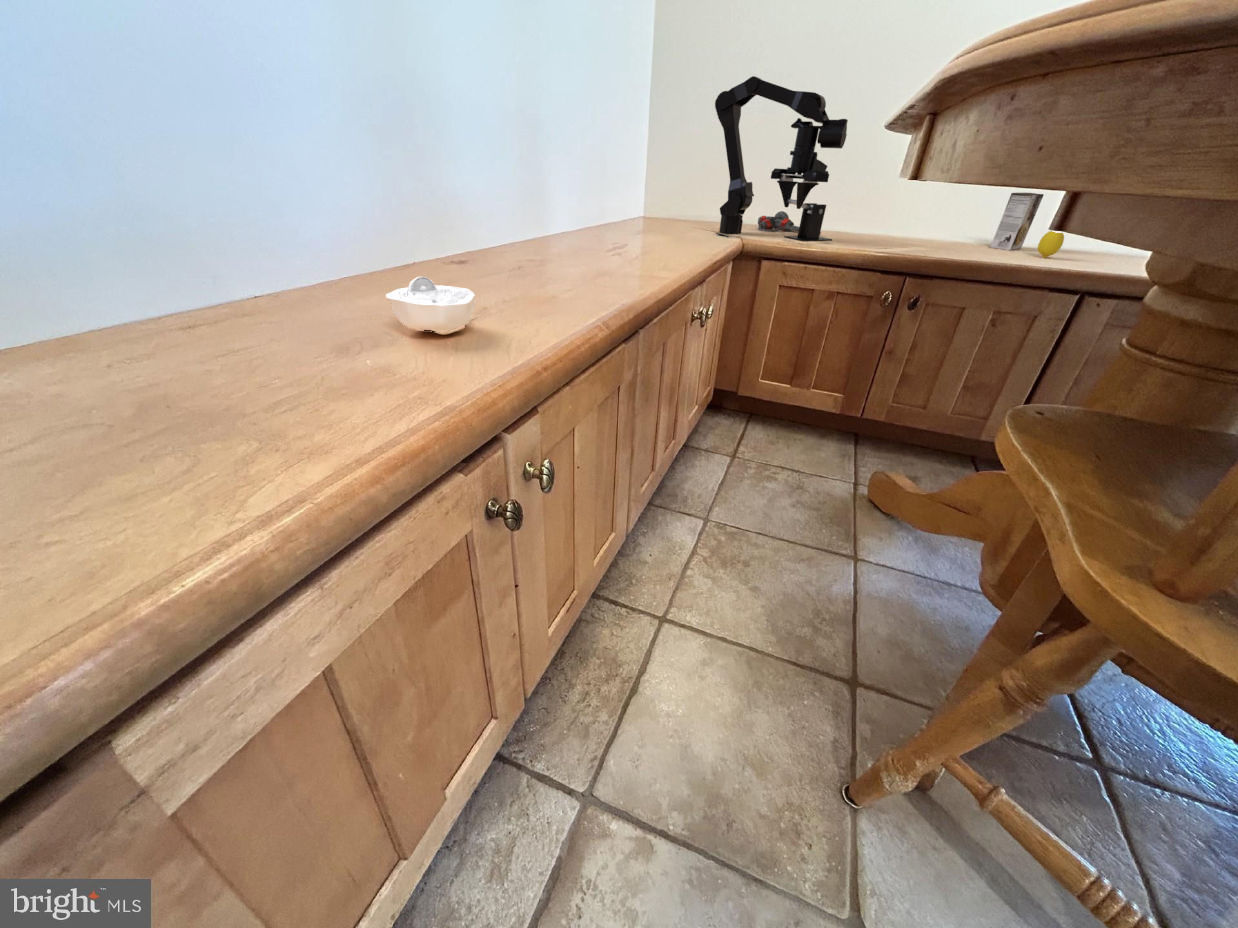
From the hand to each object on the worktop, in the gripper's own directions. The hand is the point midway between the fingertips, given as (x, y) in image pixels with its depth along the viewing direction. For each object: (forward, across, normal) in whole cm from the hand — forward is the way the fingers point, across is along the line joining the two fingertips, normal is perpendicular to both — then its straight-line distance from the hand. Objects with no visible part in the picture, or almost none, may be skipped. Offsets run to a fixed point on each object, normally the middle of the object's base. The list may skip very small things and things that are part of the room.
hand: (792, 208), depth 152 cm
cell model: (+11, -62, +113) cm, 129 cm away
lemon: (+9, -41, -64) cm, 77 cm away
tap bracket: (+10, 0, -9) cm, 13 cm away
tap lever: (+1, 0, -5) cm, 5 cm away
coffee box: (+9, -24, -73) cm, 77 cm away
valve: (+10, +18, -14) cm, 25 cm away
